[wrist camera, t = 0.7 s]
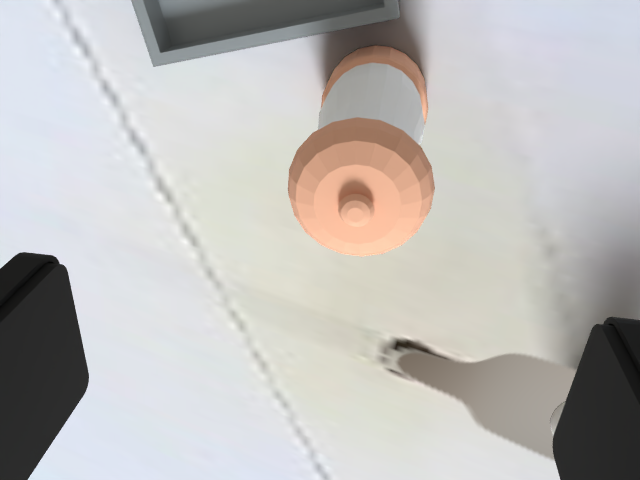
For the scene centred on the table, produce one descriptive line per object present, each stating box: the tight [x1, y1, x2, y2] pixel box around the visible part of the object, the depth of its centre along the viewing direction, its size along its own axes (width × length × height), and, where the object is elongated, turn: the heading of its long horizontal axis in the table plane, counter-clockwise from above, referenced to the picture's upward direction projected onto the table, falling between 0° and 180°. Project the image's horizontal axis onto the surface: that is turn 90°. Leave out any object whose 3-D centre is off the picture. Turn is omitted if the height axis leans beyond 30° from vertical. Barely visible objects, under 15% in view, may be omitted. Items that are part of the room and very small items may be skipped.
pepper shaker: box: [288, 45, 435, 256], centre depth 33 cm, size 7×7×19 cm
